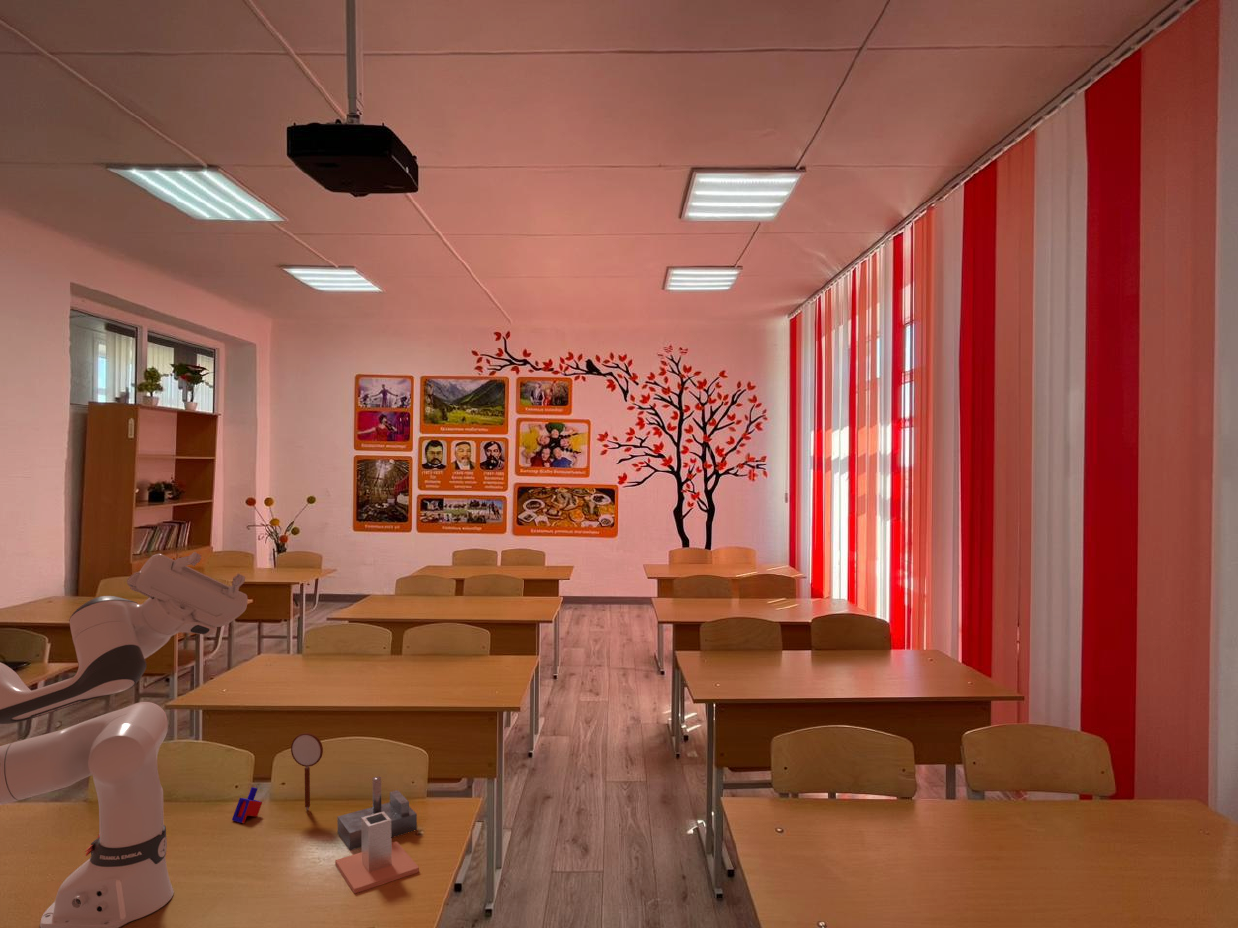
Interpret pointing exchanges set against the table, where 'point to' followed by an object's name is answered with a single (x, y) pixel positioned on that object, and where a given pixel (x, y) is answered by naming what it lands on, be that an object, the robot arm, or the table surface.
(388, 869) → the terracotta mat
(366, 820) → the steel sleeve
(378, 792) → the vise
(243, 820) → the toy building block
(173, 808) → the table surface
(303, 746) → the magnifying glass
